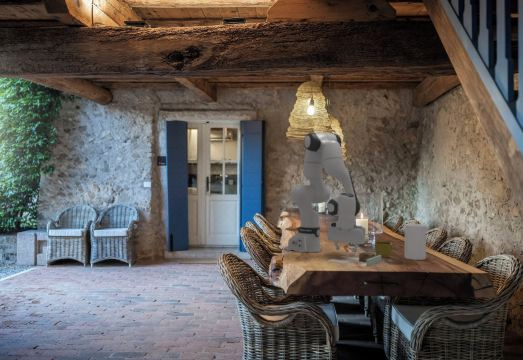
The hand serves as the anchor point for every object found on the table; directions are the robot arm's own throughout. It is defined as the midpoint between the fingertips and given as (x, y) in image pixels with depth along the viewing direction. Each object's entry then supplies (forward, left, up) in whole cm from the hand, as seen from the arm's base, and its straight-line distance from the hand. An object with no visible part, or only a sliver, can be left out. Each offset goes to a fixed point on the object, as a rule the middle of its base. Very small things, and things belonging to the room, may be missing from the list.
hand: (345, 250), depth 242 cm
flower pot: (+13, +19, -6) cm, 24 cm away
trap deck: (+6, -3, -6) cm, 9 cm away
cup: (+26, +33, -6) cm, 43 cm away
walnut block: (+12, 0, -4) cm, 12 cm away
